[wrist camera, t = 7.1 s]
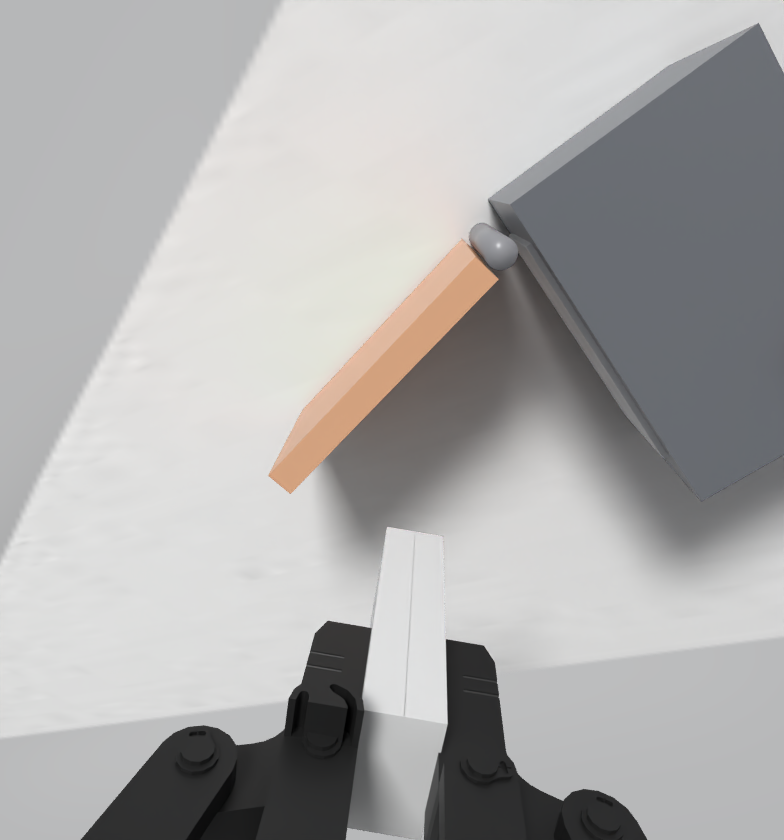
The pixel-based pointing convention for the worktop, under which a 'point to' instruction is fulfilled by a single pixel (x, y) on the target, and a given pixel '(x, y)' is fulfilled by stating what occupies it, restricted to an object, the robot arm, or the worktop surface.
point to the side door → (393, 351)
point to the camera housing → (675, 256)
